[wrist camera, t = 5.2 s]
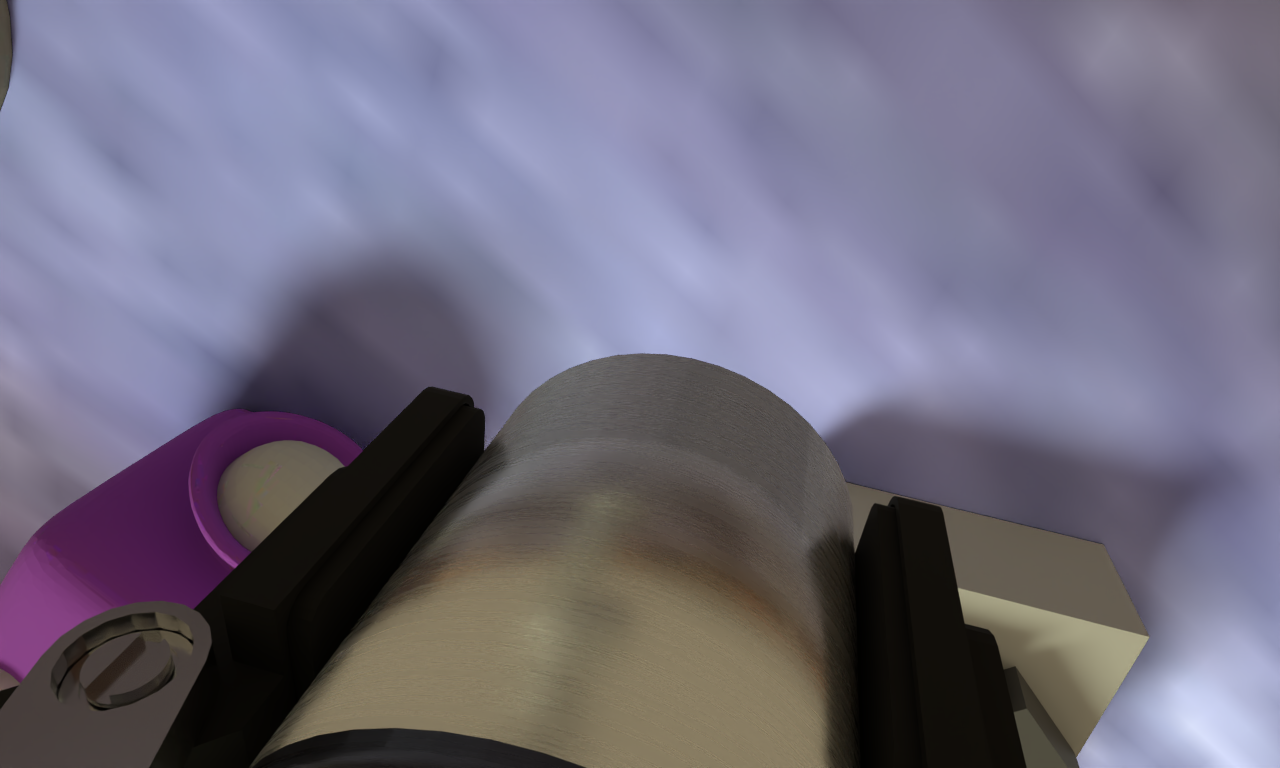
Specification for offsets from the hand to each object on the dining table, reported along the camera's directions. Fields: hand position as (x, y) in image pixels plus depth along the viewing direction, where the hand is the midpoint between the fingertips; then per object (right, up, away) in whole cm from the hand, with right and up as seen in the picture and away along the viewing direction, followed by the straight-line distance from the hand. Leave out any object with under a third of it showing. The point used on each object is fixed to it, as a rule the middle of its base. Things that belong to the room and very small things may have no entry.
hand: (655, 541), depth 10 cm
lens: (0, 0, 0) cm, 1 cm away
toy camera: (-14, -3, +21) cm, 25 cm away
